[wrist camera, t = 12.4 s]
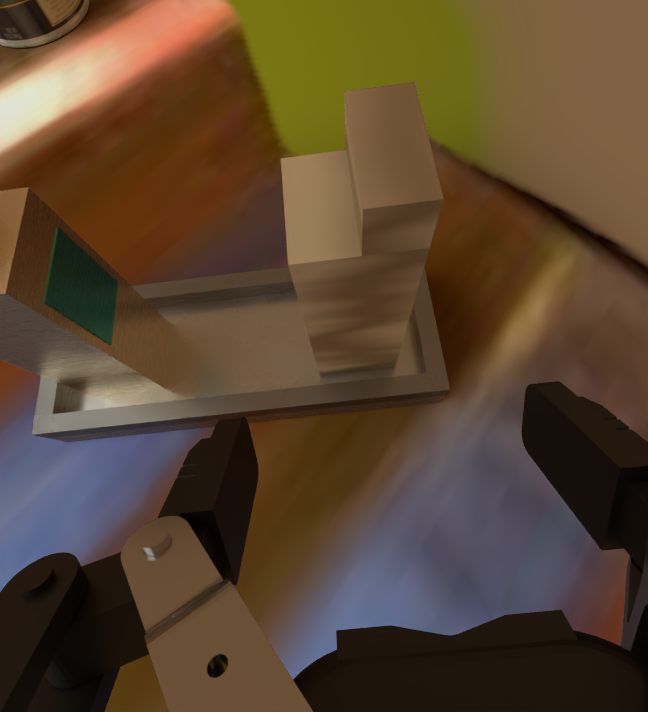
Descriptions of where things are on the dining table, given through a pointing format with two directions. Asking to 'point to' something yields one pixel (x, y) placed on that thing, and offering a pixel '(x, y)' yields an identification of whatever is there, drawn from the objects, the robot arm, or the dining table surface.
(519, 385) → the dining table surface
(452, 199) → the dining table surface
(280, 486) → the dining table surface
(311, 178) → the maple finger
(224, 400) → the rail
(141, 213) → the dining table surface
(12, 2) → the coffee can
